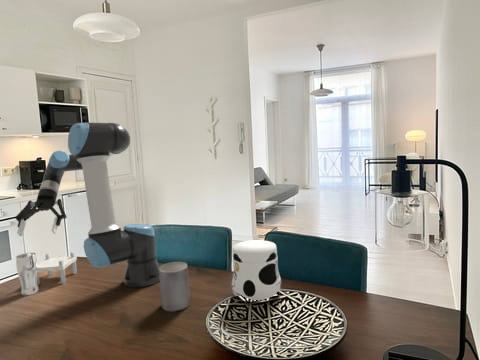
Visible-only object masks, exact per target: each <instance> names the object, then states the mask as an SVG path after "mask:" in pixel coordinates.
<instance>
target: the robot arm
mask: <svg viewBox="0 0 480 360" xmlns="http://www.w3.org/2000/svg"><path fill="white" fill-rule="evenodd" d="M130 144H131V136H130V133H129V132H128V130H127V129H126V128H125V126H123V125H120V124H119V123H114V122H87V121H86V122H77V123H74V124H73V125H72V126H71V127H70V129H69V132H68V137H67V147H68V148H67V149H68V151H69V154H68V153H67V152H66V151H62V150H56V151H53V153H52V154H51V156H50V157H49V159H48V163H47V166H46V168H45V169H44V174H43V179H42V181H41V183H40V186H39V191H38V193H37V197H36V199H35V201H32V200H29V201H28V202H27V204H25V206H24V207H23V208H22V210H20V212H19V213H18V214H17V215H16V216H15V218H14V219H15V220H16V221H17V222H18V223H17V232H16V233H17V235H18V236H20V237H22V236H23V234H24V230H25V227H26V224H27V220H29V219H30V218H31V217H32V216H34V215H36V214H37V213H39V212H43V211H51V212H52V213H53V214H54V215H55V217H54V219H53V224H52V228H51V232H52V233H53V234H54V235H56V234H57V231H58V227H60V226H61V223H62V220H63V219H65V220H66V219H67V215H66V213H65V209H64V207H63V200H62V199H61V198H58V199H57V197H58V193H59V189H60V186H61V183H62V178H63V176H64V174H65V172H72V171H82V174H83V181H84V188H85V192H86V199H87V207H88V213H89V219H90V227H91V228H90V229H89V231H88V232H87V235H88V237H87V238H86V239H84V240H83V250H84V254H85V257H86V259H87V261H88V262H89V263H90V265H91V266H92V267H94V268H97V269H102V268H105V267H110V266H111V265H115V264H119V263H122V262H125V261H126V267H125V272H124V275H123V283H124V285H125V286H126V287H130V288H143V287H149V286H152V285H154V284H157V283H158V282H159V283H160V278H159V267H160V265H159V262H158V260H157V251H156V238H155V237H156V235H155V230H154V227H153V226H152V225H150V224H145V223H130V224H126V225H124V226H123V230H122V228H121V226H120V225H118V224H117V223H116V217H115V211H114V205H113V204H114V203H113V197H112V192H111V191H112V190H111V185H110V179H109V178H110V177H109V171H108V165H107V161H108V160H109V158H110V157H112V156H114V155H118V154H122V153H123V152H125V151H126V150H127V149H128V148H129V146H130ZM55 205H56V206H58V208H59V211H60V212H58V211H57V210H56V209H55V208H54V206H55ZM59 213H60V214H59Z"/></svg>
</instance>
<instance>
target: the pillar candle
mask: <svg viewBox="0 0 480 360" xmlns="http://www.w3.org/2000/svg"><path fill="white" fill-rule="evenodd" d="M159 278H160V281H159V287H160V298H161V308H162V310H164V311H165V312H171V313H173V312H177V311H182V310H185V309H187V308H188V307H189V306H190V305H191V292H190V284H189V283H190V282H189V281H190V280H189V268H188V264H187V262H185V261H184V262H183V261H171V262H167V263H164V264H161V265H159Z"/></svg>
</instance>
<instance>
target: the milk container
mask: <svg viewBox="0 0 480 360" xmlns="http://www.w3.org/2000/svg"><path fill="white" fill-rule="evenodd" d="M277 249H278V248H277V244H276V243H274V242H273V241H269V240H264V239H263V240H260V239H257V240H256V239H255V240H254V239H253V240H245V241H241V242H237V243H236V244H234V245H233V246H232V267H233V273H232V279H231V288H232V293H233V295H234V296H235V297H236V295H242V296H243V297H245V298H248V299H251V300H264V299H267V298H270V297H272V296H273V295H275V294H276V293H277V292H278V291H279V290H280V291H281V290H282V279H281V276H280V275H281V274H280V272H279V266H278V265H279V260H278V250H277Z"/></svg>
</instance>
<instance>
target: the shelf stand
mask: <svg viewBox="0 0 480 360" xmlns="http://www.w3.org/2000/svg"><path fill="white" fill-rule="evenodd" d="M69 253H70V256H59V257H52V256H51V253H45V259H44V260H43V259H42V261H40V262H38V263H37V264H38V272H37V284H38V286H39V285H41V283H40V275H39V272H47V276H48V277H51V276H53V271H59V277H60V284H61V285H64V284H66V283H67V281H66V270H65V269H66V268H68V267H70V266H71V271H72V272H71V273H72V275H76V274H77V273H78V270H77V260H78V258H77V255H76V253H75V251H71V252H69Z"/></svg>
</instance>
